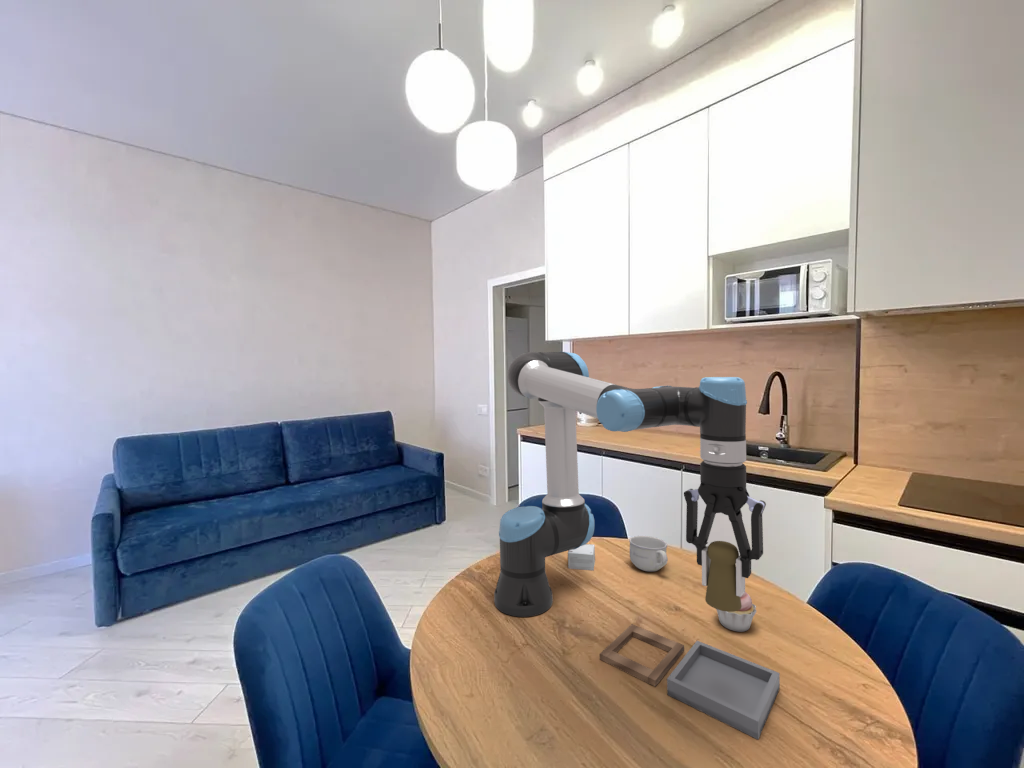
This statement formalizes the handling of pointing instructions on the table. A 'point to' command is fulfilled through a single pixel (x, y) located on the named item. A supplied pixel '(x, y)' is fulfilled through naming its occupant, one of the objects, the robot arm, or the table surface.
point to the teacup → (648, 552)
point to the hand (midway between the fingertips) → (723, 587)
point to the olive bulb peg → (722, 577)
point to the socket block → (636, 668)
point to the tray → (725, 687)
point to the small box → (582, 557)
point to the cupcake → (739, 615)
